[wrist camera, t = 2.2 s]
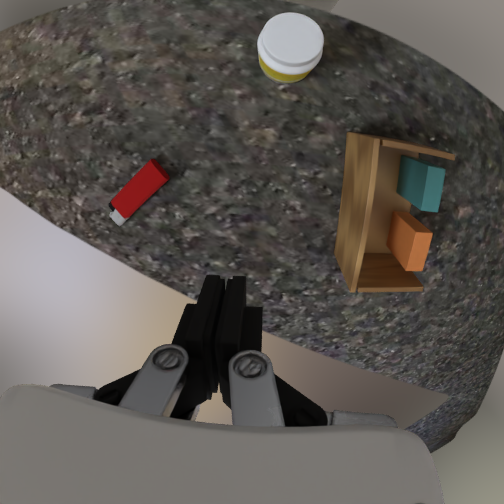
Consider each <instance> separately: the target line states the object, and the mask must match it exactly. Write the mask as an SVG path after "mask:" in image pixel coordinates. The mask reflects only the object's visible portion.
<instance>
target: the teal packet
mask: <svg viewBox="0 0 504 504" xmlns="http://www.w3.org/2000/svg"><path fill="white" fill-rule="evenodd" d="M444 176H445V169H444V168H442V167H439V166H437V165H434V164H432V163H429V162H427V161H424V160H421V159H419V158H416V157H410V156H405V155H401V160H400V168H399V176H398V183H397V190H396V193H398V194H399V195H400V196H402V197H403V198H405V199H406V200H407V201H409V202H410V203H412V204H413V205H414V206H416V207H417V208H418V209H420V210H421V211H430V212H438V209H439V204H440V199H441V194H442V188H443V182H444Z"/></svg>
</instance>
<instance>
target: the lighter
mask: <svg viewBox="0 0 504 504" xmlns="http://www.w3.org/2000/svg"><path fill="white" fill-rule="evenodd" d="M169 179H170V178H169V175H168V174H167V173H166V172H165V170H164V169H163V168H162V167H161V166H160V164H159V163H158V162H157V161H156V160H155V159H151V160H150V161H149V162H148V163H147V164H146V165H145V166H144V167H143V168H142V169H141V170H140V171H139V172H138V173H137V174H136V175H135V176H134V177H133V178H132V179H131V180H130V181H129V182H128V183H127V184H126V185H125V186H124V187H123V188H122V189H121V191H120V192H119V193H118V194H117V195H116V196H115V197H114V198H113V199H112V200H111V202H110V203H109V207H110V208H111V210H112V212H110V217H111V218H112V219H113V220H114V222H115V223H116V224H117V225H122V224H123V223H124V222H125V221H126V220H127V219H128V218H130V216H131V215H132V214H133V213H134V212H135V211H136V210H137V209H138V208H139V207H140V206H141V205H142V204H143V203H144V202H145V201H146V200H147V199H148V198H149V197H150V196H151V195H153V194H154V193H155V192H156V191H157V190H158V189H159V188H160V187H161V186H162V185H163V184H164V183H165V182H167V181H168V180H169Z"/></svg>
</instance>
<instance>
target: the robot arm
mask: <svg viewBox="0 0 504 504" xmlns="http://www.w3.org/2000/svg"><path fill="white" fill-rule="evenodd" d="M262 311H263V307H246V276H233V279H228V281H227V286H226V290H225V279H220V275H207V276H206V278H205V281H204V284H203V287H202V289H201V292H200V295H199V298H198V301H197V304H187V305H186V307H185V309H184V312H183V314H182V317H181V319H180V322H179V325H178V328H177V330H176V333H175V335H174V338H173V341H172V344H165V345H162V346H159V347H157V348H156V349H154V350H153V351H152V352H151V353H150V355H149V357H148V358H147V360H146V361H145V363H144V364H143V366H142V368H141V369H139V370H137V371H135V372H133V373H131V374H129V375H126V376H124V377H122V378H120V379H118V380H116V381H113V382H111V383H109V384H107V385H104V386H103V387H101V388H100V389H99V390H98V389H96V388H95V387H89V386H74V385H63V384H54V385H51V386H49V387H48V386H43V385H35V384H24V385H23V384H22V385H17V386H13V387H11V388H9V389H8V390H7V391H6V392H5V393H4V394H3V395H2V396H1V397H0V504H444V499H443V493H442V489H441V485H440V481H439V477H438V474H437V471H436V468H435V465H434V462H433V459H432V457H431V454H430V452H429V450H428V448H427V446H426V445H425V443H424V442H423V441H422V440H421V439H420V438H419V437H418V436H417V435H416V434H414V433H412V432H409V431H406V430H404V429H400V428H398V426H397V423H396V421H395V420H394V419H393V418H392V417H390V416H388V415H384V414H370V413H359V412H348V411H339V410H334V411H333V412H326V411H324V410H323V409H322V408H321V407H320V406H318V405H317V404H315V403H314V402H312V401H311V400H310V399H308V398H307V397H305V396H304V395H303V394H301V393H300V392H298V391H297V390H296V389H294V388H293V387H291V386H290V385H289V384H287V383H286V382H285V381H283V380H282V379H281V378H279V377H278V376H277V375H275V374H274V372H273V367H272V363H271V361H270V359H269V357H268V356H267V355H265V354H264V353H262V352H261V347H262ZM218 384H219V385H220V392H221V393H222V397H223V402H224V403H225V404H226V405H227V406H228V407H229V408H230V409H231V410H232V422H233V425H225V424H213V423H205V422H196V421H195V419H196V417H197V414H198V412H199V408H200V404H201V403H203V402H204V401H206V400H207V399H209V400H211V397H212V393H217V390H218Z"/></svg>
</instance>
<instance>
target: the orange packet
mask: <svg viewBox="0 0 504 504" xmlns="http://www.w3.org/2000/svg"><path fill="white" fill-rule="evenodd" d="M432 235H433V233H432V232H431V231H430V230H428V229H427V228H426V227H425V226H424V225H423V224H422V223H420V222H419V221H418V220H417V219H416V218H414V217H413V216H412V215H411V214H409V213H408V212H398V211H393V213H392V219H391V224H390V229H389V234H388V239H387V243H386V246H387V247H388V248H389V250H390V251H391V252H392V253H393V255H394V256H395V257H396V259H397V260H398V261H399V263H400V264H401V265H402V267H403V268H404V269H405V271H422V270H423V267H424V263H425V260H426V257H427V253H428V250H429V246H430V242H431V239H432Z"/></svg>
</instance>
